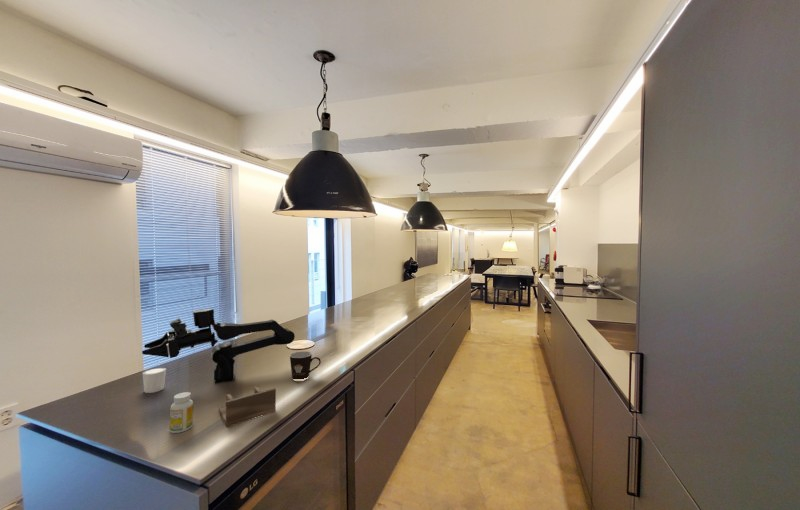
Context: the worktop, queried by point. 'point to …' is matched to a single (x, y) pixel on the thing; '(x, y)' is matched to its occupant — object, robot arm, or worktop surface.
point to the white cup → (154, 380)
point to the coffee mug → (301, 364)
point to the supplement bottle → (181, 413)
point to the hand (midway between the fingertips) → (143, 349)
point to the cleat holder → (248, 406)
